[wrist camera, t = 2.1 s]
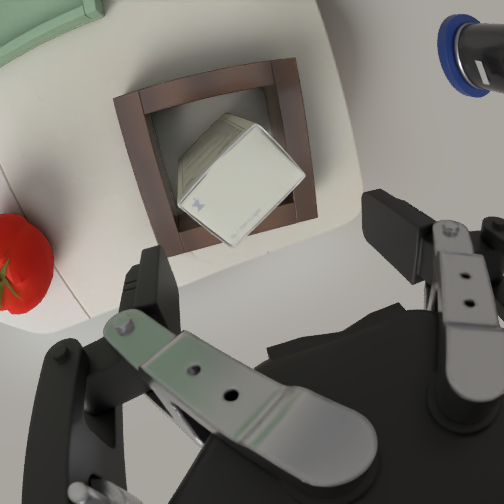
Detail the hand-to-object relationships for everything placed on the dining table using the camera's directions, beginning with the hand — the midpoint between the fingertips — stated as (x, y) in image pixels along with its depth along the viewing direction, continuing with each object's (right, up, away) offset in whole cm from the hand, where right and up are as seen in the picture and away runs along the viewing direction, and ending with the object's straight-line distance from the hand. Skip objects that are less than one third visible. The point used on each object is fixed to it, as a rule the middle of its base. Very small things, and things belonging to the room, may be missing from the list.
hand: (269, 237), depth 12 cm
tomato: (-24, 0, +15) cm, 29 cm away
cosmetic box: (-4, +9, +15) cm, 18 cm away
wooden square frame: (-4, +8, +15) cm, 18 cm away
